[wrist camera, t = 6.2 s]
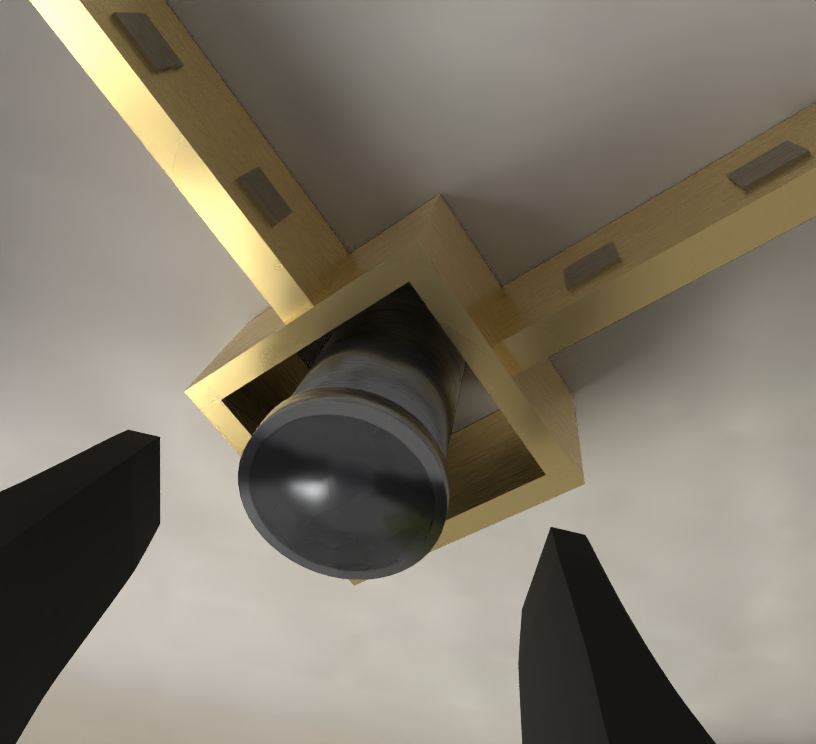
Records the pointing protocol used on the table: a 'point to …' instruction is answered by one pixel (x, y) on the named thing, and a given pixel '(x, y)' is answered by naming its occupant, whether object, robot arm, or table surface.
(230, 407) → the gold square socket frame
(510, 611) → the table surface
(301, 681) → the table surface
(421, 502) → the pin
